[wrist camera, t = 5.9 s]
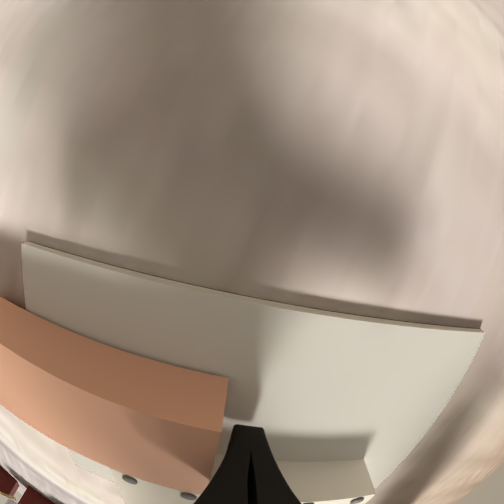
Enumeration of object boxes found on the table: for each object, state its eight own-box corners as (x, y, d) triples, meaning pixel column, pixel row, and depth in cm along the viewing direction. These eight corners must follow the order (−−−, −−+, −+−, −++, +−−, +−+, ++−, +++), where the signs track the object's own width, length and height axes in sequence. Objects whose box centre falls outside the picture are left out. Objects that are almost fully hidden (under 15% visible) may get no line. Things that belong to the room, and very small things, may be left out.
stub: (212, 451, 11) (205, 495, 8) (9, 368, 11) (-16, 390, 8) (228, 377, 10) (221, 432, 7) (-8, 291, 10) (-43, 309, 7)
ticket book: (327, 498, 13) (333, 528, 10) (136, 474, 13) (125, 506, 10) (363, 458, 12) (376, 495, 9) (127, 430, 11) (109, 469, 8)
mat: (351, 504, 15) (352, 508, 14) (78, 461, 14) (76, 464, 13) (480, 329, 11) (485, 332, 10) (27, 240, 10) (21, 243, 9)
